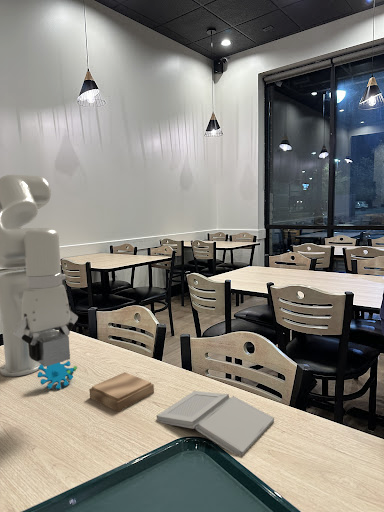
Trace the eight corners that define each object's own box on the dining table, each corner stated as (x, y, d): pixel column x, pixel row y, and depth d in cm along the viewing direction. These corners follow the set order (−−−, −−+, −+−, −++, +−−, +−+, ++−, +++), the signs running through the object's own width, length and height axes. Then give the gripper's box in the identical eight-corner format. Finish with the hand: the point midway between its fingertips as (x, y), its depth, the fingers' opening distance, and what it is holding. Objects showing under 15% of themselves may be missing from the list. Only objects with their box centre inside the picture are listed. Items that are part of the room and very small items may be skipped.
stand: (89, 397, 94) (89, 386, 93) (125, 381, 103) (124, 371, 102) (118, 411, 86) (117, 400, 86) (154, 392, 95) (153, 382, 95)
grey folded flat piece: (275, 423, 80) (274, 408, 79) (242, 460, 68) (241, 442, 68) (194, 396, 94) (194, 383, 93) (155, 422, 82) (155, 407, 82)
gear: (40, 390, 95) (36, 356, 101) (35, 399, 99) (32, 366, 104) (80, 383, 102) (75, 352, 107) (75, 393, 105) (70, 362, 111)
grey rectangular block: (30, 356, 86) (28, 334, 86) (54, 349, 90) (53, 328, 90) (44, 366, 80) (43, 343, 79) (70, 359, 84) (68, 336, 83)
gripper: (69, 275, 92) (73, 341, 94) (-1, 286, 79) (5, 363, 81) (85, 277, 87) (89, 347, 89) (13, 289, 74) (20, 371, 76)
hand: (49, 354), depth 85 cm, fingers closed on grey rectangular block, 6 cm apart
